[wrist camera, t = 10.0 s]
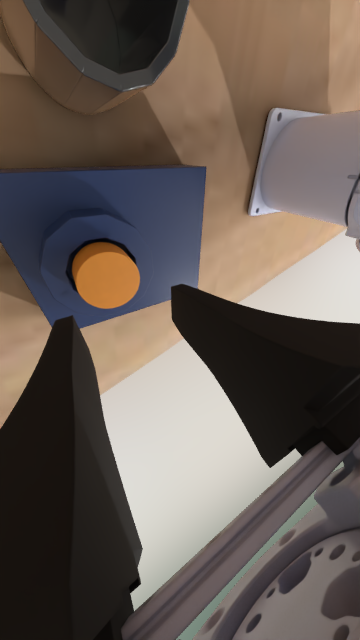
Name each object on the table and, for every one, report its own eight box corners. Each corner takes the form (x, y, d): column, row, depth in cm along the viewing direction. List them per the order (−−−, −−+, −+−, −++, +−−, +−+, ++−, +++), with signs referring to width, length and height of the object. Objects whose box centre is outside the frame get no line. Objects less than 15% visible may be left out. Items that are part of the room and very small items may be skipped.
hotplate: (183, 164, 15) (223, 168, 12) (182, 277, 22) (207, 300, 18) (-25, 169, 10) (-54, 177, 7) (54, 313, 17) (58, 351, 14)
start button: (126, 237, 12) (135, 246, 11) (134, 287, 14) (143, 299, 13) (61, 247, 10) (64, 259, 9) (83, 301, 13) (87, 316, 12)
